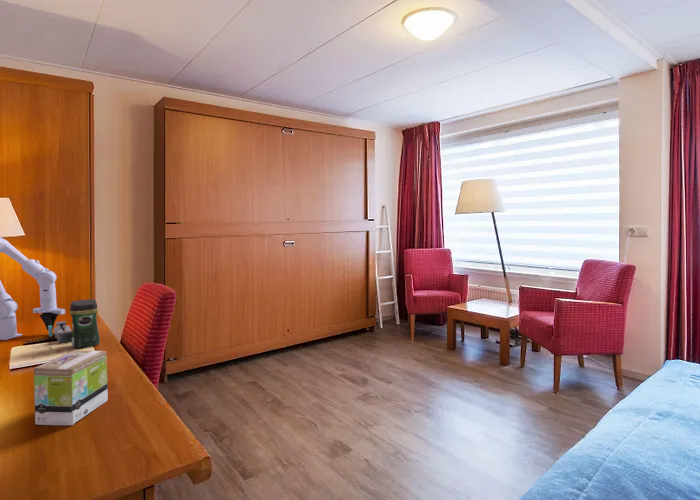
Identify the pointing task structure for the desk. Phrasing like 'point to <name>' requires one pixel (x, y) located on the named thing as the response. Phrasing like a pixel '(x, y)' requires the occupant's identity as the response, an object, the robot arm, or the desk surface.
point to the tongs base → (67, 332)
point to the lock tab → (50, 330)
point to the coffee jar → (84, 323)
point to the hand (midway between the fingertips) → (50, 329)
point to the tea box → (70, 387)
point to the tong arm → (60, 332)
